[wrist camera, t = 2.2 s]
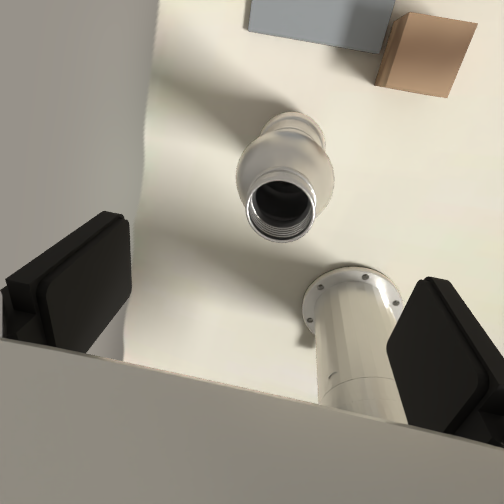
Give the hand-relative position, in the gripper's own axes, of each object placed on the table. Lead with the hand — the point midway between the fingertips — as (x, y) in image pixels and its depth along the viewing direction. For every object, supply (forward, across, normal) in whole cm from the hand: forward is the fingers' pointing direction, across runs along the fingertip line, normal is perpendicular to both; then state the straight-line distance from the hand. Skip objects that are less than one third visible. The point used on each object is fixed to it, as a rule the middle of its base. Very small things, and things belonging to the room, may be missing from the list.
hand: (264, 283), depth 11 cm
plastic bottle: (+27, 0, 0) cm, 27 cm away
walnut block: (+27, -9, -8) cm, 30 cm away
